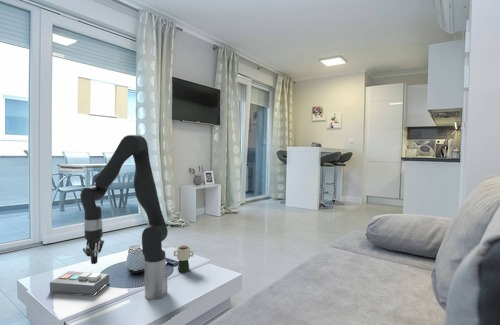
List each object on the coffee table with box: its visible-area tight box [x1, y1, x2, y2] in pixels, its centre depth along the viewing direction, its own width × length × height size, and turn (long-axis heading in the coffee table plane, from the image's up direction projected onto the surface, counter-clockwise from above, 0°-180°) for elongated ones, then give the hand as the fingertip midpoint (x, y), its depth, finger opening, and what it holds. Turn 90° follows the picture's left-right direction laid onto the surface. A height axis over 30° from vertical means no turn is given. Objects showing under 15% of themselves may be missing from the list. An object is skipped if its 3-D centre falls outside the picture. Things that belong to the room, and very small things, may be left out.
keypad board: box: [49, 271, 110, 296], centre depth 141 cm, size 22×12×5 cm, turn 83°
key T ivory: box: [88, 272, 101, 282], centre depth 140 cm, size 4×4×4 cm
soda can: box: [127, 245, 142, 254], centre depth 164 cm, size 7×7×12 cm
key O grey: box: [79, 272, 92, 281], centre depth 141 cm, size 4×4×4 cm
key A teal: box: [69, 275, 80, 280], centre depth 141 cm, size 4×4×4 cm
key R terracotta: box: [59, 273, 73, 280], centre depth 142 cm, size 4×4×4 cm
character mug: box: [173, 245, 194, 273], centre depth 162 cm, size 11×7×13 cm, turn 90°
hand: (94, 263), depth 139 cm, fingers closed
